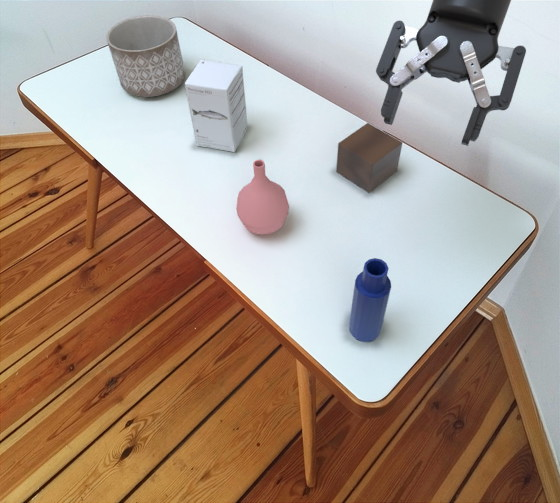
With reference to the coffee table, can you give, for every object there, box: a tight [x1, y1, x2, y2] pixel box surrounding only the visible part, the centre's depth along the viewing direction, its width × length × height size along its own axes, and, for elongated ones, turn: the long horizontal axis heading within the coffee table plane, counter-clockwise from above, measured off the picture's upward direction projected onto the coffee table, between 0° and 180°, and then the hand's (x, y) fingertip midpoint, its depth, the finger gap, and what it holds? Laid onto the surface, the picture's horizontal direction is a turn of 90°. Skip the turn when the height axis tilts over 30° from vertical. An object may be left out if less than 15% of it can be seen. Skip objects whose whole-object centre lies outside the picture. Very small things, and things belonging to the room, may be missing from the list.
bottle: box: [348, 257, 392, 343], centre depth 61 cm, size 4×4×13 cm
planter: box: [105, 14, 186, 98], centre depth 98 cm, size 13×13×10 cm
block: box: [335, 122, 403, 194], centre depth 82 cm, size 7×7×6 cm
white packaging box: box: [184, 59, 248, 153], centre depth 86 cm, size 7×7×13 cm
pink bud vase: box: [235, 159, 290, 235], centre depth 73 cm, size 8×8×12 cm
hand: (425, 133), depth 56 cm, fingers open, 8 cm apart
